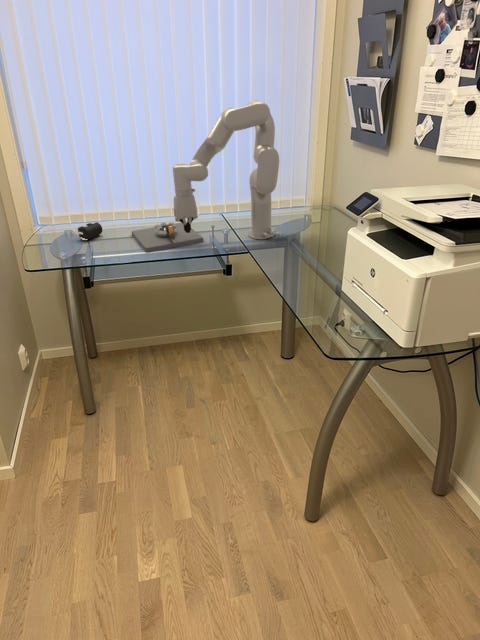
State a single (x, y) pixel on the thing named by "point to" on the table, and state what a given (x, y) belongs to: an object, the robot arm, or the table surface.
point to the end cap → (90, 230)
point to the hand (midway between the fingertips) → (187, 231)
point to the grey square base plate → (165, 238)
